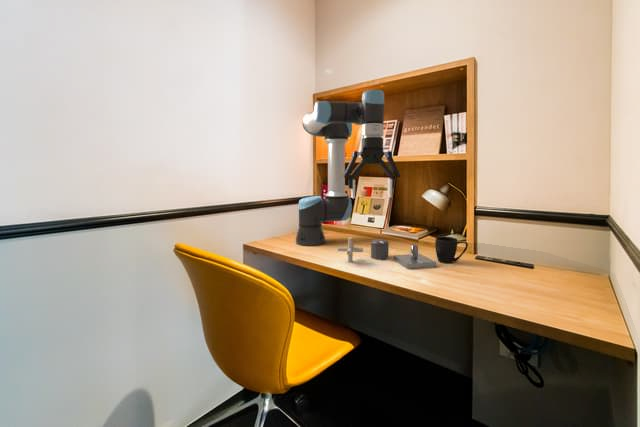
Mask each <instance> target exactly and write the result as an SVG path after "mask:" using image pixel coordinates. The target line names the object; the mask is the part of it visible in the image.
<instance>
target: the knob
mask: <svg viewBox="0 0 640 427" xmlns="http://www.w3.org/2000/svg"><path fill="white" fill-rule="evenodd" d="M389 242H390V241H389V240H387V239H382V238H381V239H372V240H371V242H370V243H371V244H370V258H371V259H373V260H378V261H381V260H382V261H383V260H388V259H389V248H390V246H389V244H390V243H389Z"/></svg>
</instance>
